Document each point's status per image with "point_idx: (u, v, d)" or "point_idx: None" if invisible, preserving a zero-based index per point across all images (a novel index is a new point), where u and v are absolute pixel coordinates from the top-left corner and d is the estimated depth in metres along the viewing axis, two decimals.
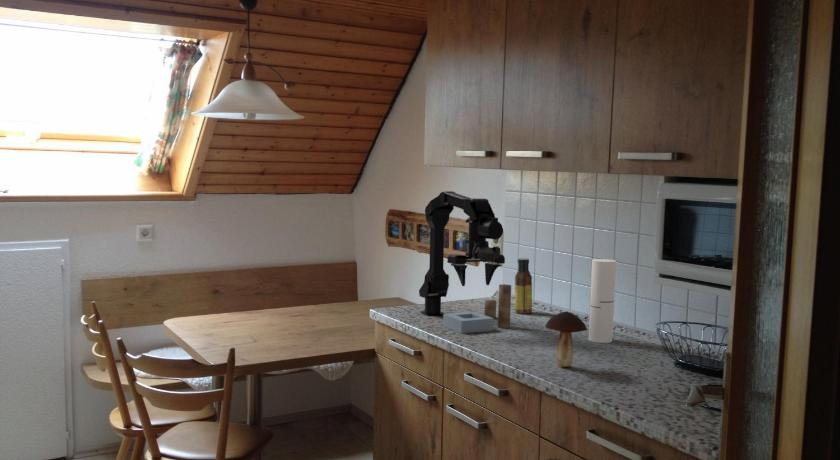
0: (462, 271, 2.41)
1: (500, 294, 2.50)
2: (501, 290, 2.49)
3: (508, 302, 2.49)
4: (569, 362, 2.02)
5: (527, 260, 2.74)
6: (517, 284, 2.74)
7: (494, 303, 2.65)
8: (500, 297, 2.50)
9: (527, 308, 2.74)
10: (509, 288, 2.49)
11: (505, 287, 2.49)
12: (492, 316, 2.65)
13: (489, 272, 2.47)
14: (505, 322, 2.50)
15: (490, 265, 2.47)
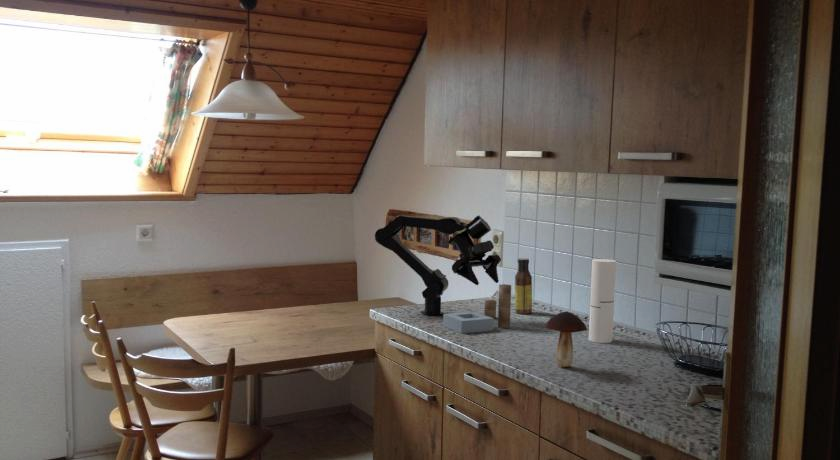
0: (470, 270, 2.55)
1: (500, 294, 2.50)
2: (501, 290, 2.49)
3: (508, 302, 2.49)
4: (569, 362, 2.02)
5: (527, 260, 2.74)
6: (517, 284, 2.74)
7: (494, 303, 2.65)
8: (500, 297, 2.50)
9: (527, 308, 2.74)
10: (509, 288, 2.49)
11: (505, 287, 2.49)
12: (492, 316, 2.65)
13: (492, 271, 2.62)
14: (505, 322, 2.50)
15: (490, 266, 2.63)
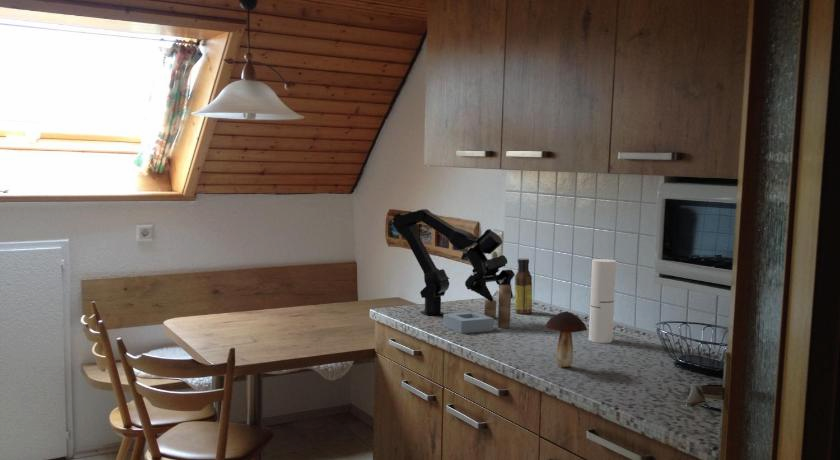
0: (484, 286, 2.50)
1: (500, 294, 2.50)
2: (501, 290, 2.49)
3: (508, 302, 2.49)
4: (569, 362, 2.02)
5: (527, 260, 2.74)
6: (517, 284, 2.74)
7: (494, 303, 2.65)
8: (500, 297, 2.50)
9: (527, 308, 2.74)
10: (509, 288, 2.49)
11: (505, 287, 2.49)
12: (492, 316, 2.65)
13: None
14: (505, 322, 2.50)
15: (504, 281, 2.58)
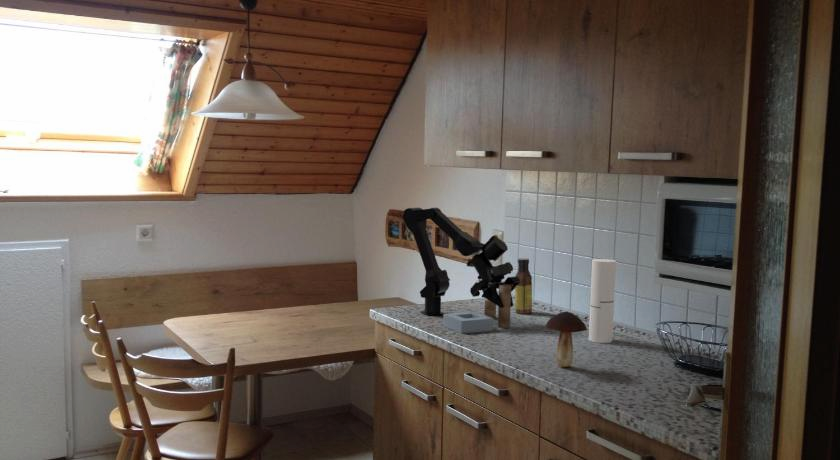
0: (495, 293, 2.49)
1: (500, 294, 2.50)
2: (501, 290, 2.49)
3: (508, 302, 2.49)
4: (569, 362, 2.02)
5: (527, 260, 2.74)
6: None
7: None
8: (500, 297, 2.50)
9: (527, 308, 2.74)
10: (509, 288, 2.49)
11: (505, 287, 2.49)
12: (492, 316, 2.65)
13: None
14: (505, 321, 2.50)
15: None
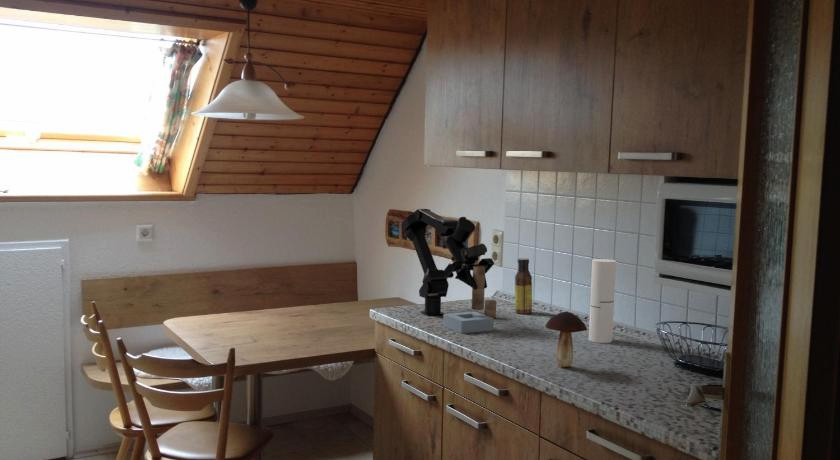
0: (468, 274, 2.47)
1: (474, 275, 2.47)
2: (475, 271, 2.47)
3: (482, 283, 2.47)
4: (569, 362, 2.02)
5: (527, 260, 2.74)
6: (517, 284, 2.74)
7: (494, 303, 2.65)
8: (474, 278, 2.47)
9: (527, 308, 2.74)
10: (483, 269, 2.47)
11: (479, 268, 2.46)
12: (492, 316, 2.65)
13: None
14: (479, 303, 2.47)
15: None
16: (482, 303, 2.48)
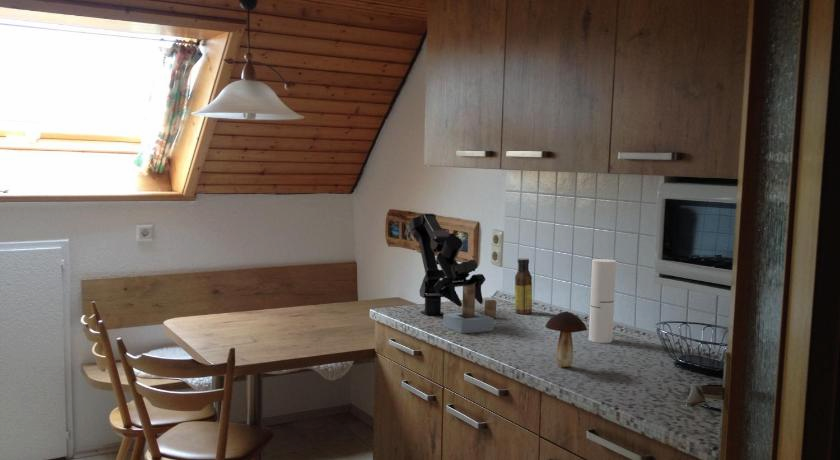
0: (453, 291, 2.45)
1: (464, 295, 2.47)
2: (465, 291, 2.47)
3: (472, 303, 2.47)
4: (569, 362, 2.02)
5: (527, 260, 2.74)
6: (517, 284, 2.74)
7: (494, 303, 2.65)
8: (464, 298, 2.47)
9: (527, 308, 2.74)
10: (473, 289, 2.47)
11: (469, 288, 2.46)
12: (492, 316, 2.65)
13: (476, 292, 2.52)
14: None
15: None
16: None
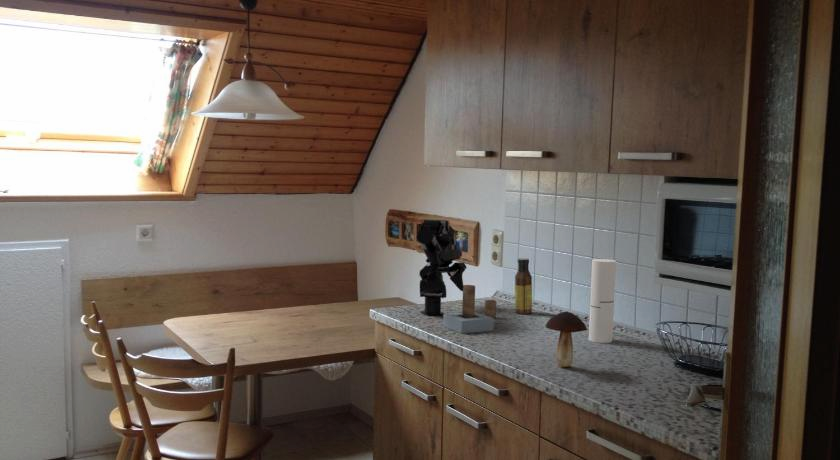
0: (438, 277, 2.52)
1: (464, 295, 2.47)
2: (465, 291, 2.47)
3: (472, 303, 2.47)
4: (569, 362, 2.02)
5: (527, 260, 2.74)
6: (517, 284, 2.74)
7: (494, 303, 2.65)
8: (464, 298, 2.47)
9: (527, 308, 2.74)
10: (473, 289, 2.47)
11: (469, 288, 2.46)
12: (492, 316, 2.65)
13: (458, 279, 2.60)
14: None
15: (456, 273, 2.61)
16: None
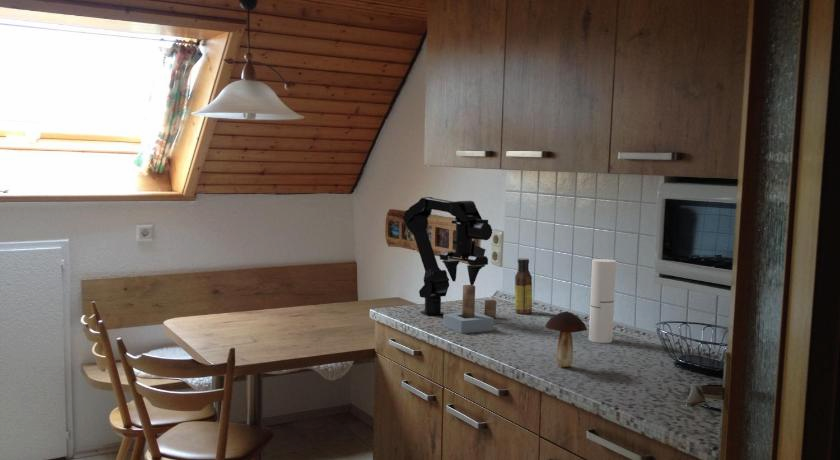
0: None
1: (464, 295, 2.47)
2: (465, 291, 2.47)
3: (472, 303, 2.47)
4: (569, 362, 2.02)
5: (527, 260, 2.74)
6: (517, 284, 2.74)
7: (494, 303, 2.65)
8: (464, 298, 2.47)
9: (527, 308, 2.74)
10: (473, 289, 2.47)
11: (469, 288, 2.46)
12: (492, 316, 2.65)
13: (454, 269, 2.63)
14: None
15: (454, 262, 2.63)
16: None
